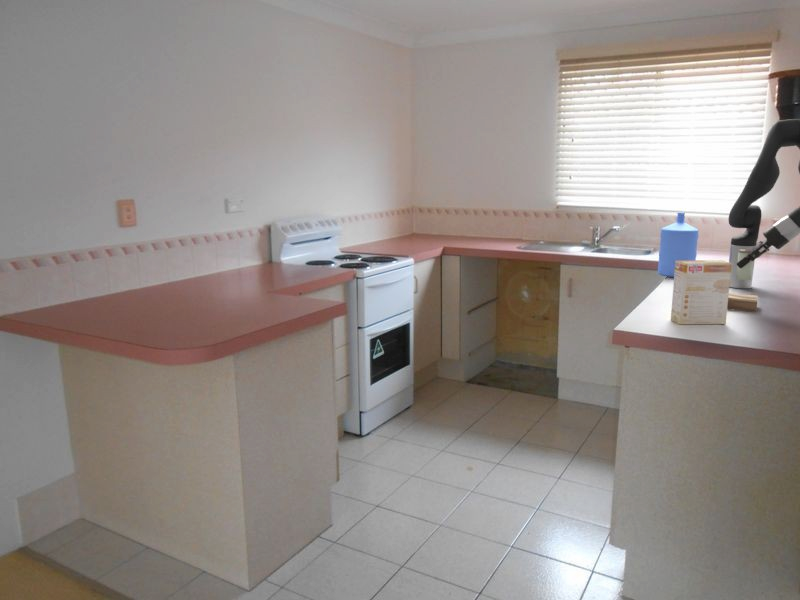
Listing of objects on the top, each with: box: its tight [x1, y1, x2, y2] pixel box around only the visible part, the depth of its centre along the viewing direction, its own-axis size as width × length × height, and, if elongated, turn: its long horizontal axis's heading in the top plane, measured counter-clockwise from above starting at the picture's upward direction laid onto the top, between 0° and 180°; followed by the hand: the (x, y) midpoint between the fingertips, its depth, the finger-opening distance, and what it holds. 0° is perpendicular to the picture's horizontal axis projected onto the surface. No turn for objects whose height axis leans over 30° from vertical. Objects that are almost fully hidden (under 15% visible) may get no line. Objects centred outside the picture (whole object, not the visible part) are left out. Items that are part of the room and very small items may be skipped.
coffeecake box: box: [670, 259, 732, 325], centre depth 207 cm, size 15×7×20 cm, turn 92°
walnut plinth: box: [727, 292, 758, 313], centre depth 230 cm, size 10×10×4 cm
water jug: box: [657, 212, 699, 278], centre depth 296 cm, size 16×16×28 cm
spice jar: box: [736, 249, 754, 280], centre depth 227 cm, size 5×5×10 cm
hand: (738, 265), depth 228 cm, fingers closed on spice jar, 4 cm apart
